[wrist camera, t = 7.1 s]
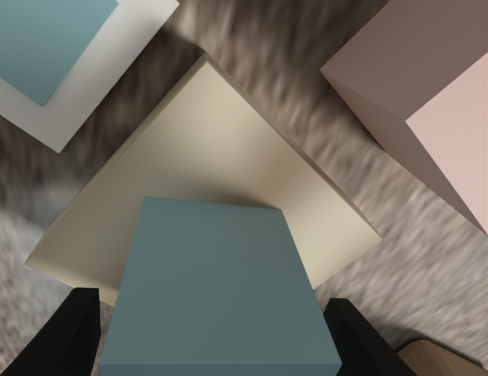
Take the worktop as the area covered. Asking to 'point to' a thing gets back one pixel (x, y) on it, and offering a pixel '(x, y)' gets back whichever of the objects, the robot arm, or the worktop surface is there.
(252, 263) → the teal cube
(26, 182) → the worktop surface
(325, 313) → the robot arm
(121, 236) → the birch block
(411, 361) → the wooden block
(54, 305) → the worktop surface
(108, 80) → the card
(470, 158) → the rose cube
